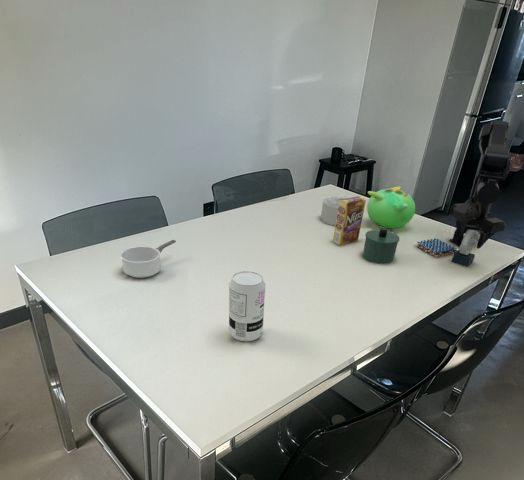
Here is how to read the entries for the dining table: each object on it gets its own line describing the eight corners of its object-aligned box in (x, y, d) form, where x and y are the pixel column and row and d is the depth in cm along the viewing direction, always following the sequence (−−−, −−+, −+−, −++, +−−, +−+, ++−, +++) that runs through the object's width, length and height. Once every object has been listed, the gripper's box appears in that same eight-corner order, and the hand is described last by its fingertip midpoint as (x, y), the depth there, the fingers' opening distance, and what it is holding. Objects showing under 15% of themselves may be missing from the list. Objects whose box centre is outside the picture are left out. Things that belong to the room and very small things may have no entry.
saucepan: (189, 261, 144) (188, 244, 141) (141, 284, 130) (139, 266, 127) (162, 251, 149) (161, 235, 146) (113, 272, 135) (111, 254, 132)
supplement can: (228, 324, 115) (228, 270, 106) (261, 324, 116) (264, 270, 107) (229, 343, 108) (229, 286, 100) (263, 342, 109) (267, 286, 101)
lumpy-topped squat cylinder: (343, 228, 175) (347, 205, 170) (315, 220, 181) (317, 197, 176) (356, 221, 181) (360, 199, 176) (328, 213, 188) (331, 192, 183)
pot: (382, 250, 159) (386, 230, 155) (399, 262, 152) (404, 241, 148) (357, 253, 156) (360, 233, 152) (373, 265, 148) (377, 245, 144)
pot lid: (386, 231, 156) (388, 221, 154) (405, 244, 148) (408, 233, 146) (358, 234, 153) (360, 224, 150) (376, 247, 144) (378, 236, 142)
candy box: (340, 246, 160) (347, 202, 151) (332, 241, 163) (338, 198, 154) (358, 241, 165) (366, 199, 156) (350, 237, 167) (357, 195, 159)
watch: (474, 261, 155) (485, 230, 149) (465, 268, 150) (476, 236, 144) (458, 256, 158) (468, 225, 152) (449, 263, 153) (458, 231, 146)
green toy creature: (415, 225, 181) (425, 187, 173) (401, 238, 169) (411, 198, 161) (372, 215, 189) (379, 178, 180) (356, 226, 177) (363, 188, 168)
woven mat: (436, 258, 156) (437, 252, 155) (414, 246, 163) (415, 241, 162) (458, 253, 160) (459, 248, 159) (435, 242, 167) (437, 237, 166)
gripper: (442, 187, 145) (430, 234, 154) (485, 206, 131) (468, 257, 140) (470, 185, 149) (456, 231, 158) (514, 203, 135) (496, 253, 144)
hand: (468, 242), depth 150 cm, fingers open, 9 cm apart
